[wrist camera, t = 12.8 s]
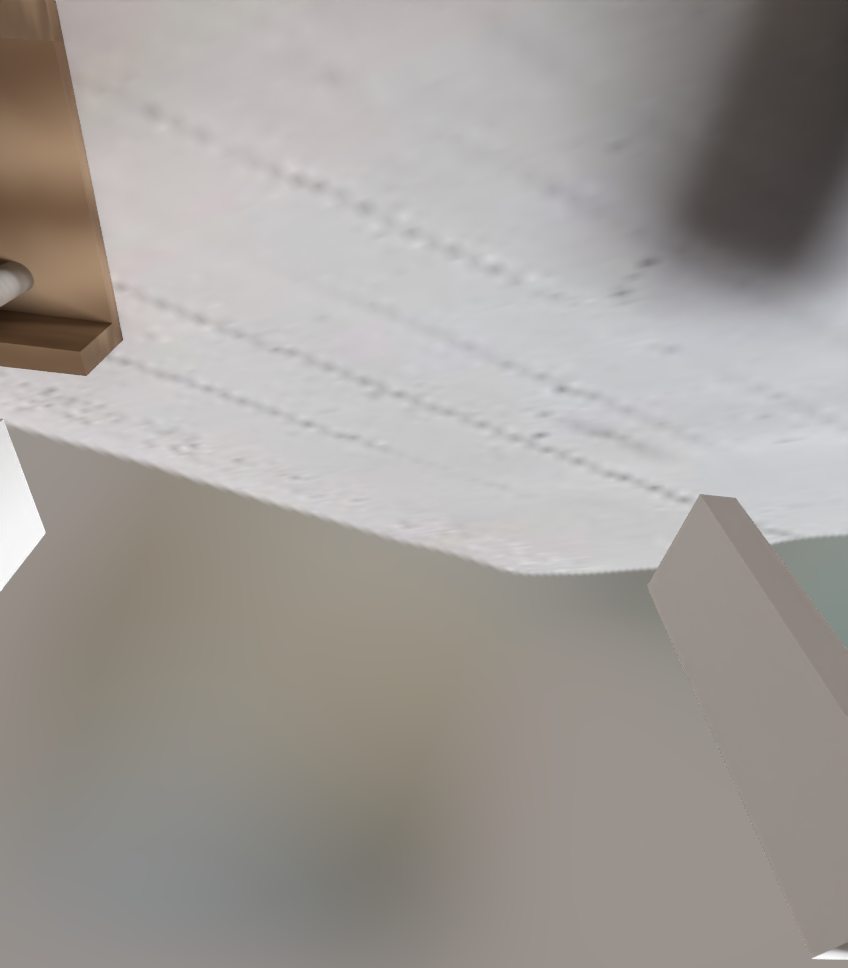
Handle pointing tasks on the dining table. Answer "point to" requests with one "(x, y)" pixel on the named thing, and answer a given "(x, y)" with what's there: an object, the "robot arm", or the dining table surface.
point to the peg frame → (47, 207)
